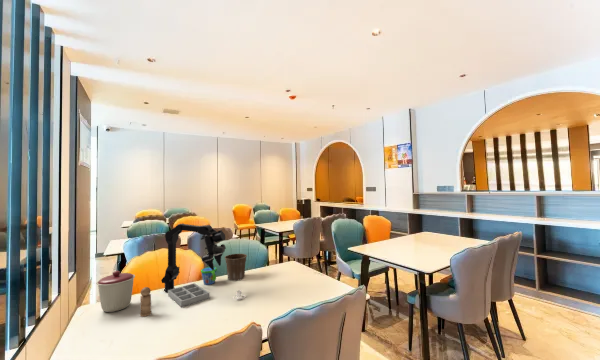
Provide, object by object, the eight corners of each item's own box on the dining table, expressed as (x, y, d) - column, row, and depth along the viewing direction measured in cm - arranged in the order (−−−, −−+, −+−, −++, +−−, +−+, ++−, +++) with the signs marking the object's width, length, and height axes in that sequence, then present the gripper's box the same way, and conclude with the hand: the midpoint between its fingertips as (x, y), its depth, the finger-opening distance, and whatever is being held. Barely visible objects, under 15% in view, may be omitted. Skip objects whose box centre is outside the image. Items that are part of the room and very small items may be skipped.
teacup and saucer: (241, 301, 152) (241, 294, 153) (229, 301, 154) (229, 294, 154) (247, 295, 161) (247, 288, 161) (235, 295, 163) (235, 288, 163)
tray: (168, 295, 164) (168, 290, 164) (194, 288, 175) (194, 283, 175) (181, 307, 146) (181, 301, 146) (209, 298, 157) (209, 292, 158)
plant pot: (252, 276, 196) (251, 254, 197) (236, 283, 183) (235, 260, 183) (236, 273, 205) (236, 252, 206) (220, 279, 191) (220, 257, 192)
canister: (89, 318, 138) (89, 277, 139) (105, 304, 155) (105, 268, 156) (128, 312, 142) (128, 273, 143) (139, 299, 160) (139, 264, 161)
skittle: (139, 314, 140) (138, 287, 140) (150, 311, 143) (149, 284, 144) (141, 317, 136) (141, 290, 136) (152, 314, 139) (152, 287, 140)
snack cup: (198, 282, 187) (197, 268, 187) (212, 278, 194) (212, 265, 194) (205, 288, 175) (205, 273, 175) (220, 284, 181) (220, 269, 182)
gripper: (214, 244, 160) (221, 268, 158) (227, 238, 178) (233, 260, 177) (198, 248, 161) (204, 273, 160) (213, 242, 180) (219, 264, 178)
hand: (216, 267), depth 169 cm, fingers open, 9 cm apart
